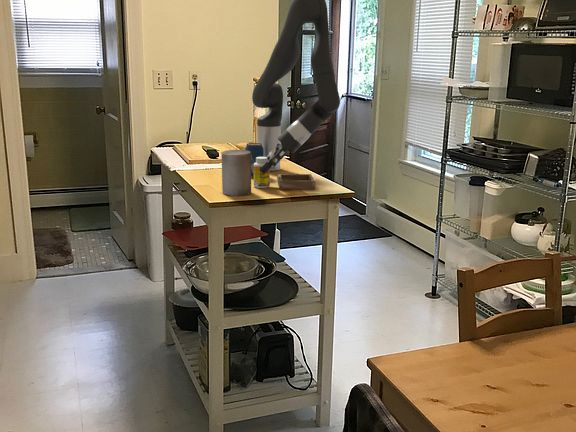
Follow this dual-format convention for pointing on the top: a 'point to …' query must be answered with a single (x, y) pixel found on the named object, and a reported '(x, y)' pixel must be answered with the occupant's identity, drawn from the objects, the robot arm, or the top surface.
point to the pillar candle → (236, 172)
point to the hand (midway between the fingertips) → (260, 169)
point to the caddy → (296, 182)
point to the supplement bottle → (259, 177)
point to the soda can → (254, 153)
